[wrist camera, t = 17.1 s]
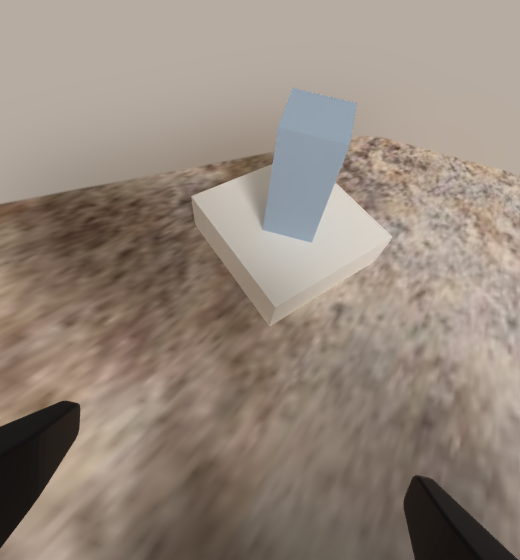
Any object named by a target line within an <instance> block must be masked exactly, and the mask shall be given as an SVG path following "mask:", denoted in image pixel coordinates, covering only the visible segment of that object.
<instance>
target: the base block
mask: <svg viewBox="0 0 520 560" xmlns="http://www.w3.org/2000/svg"><path fill="white" fill-rule="evenodd" d="M272 165H273V164H271V165H268V166H266V167H263V168H261V169H258V170H256V171H253V172H251V173H248V174H246V175H243V176H241V177H238V178H236V179H233V180H231V181H228V182H226V183H223V184H220V185H218V186H215V187H213V188H210V189H208V190H205V191H203V192H200V193H198V194H195V195H193V196H191V199H192V206H193V214H194V221H195V225H196V226H197V228H198V229H199V230H200V232H201V233H202V235H203V236H204V237H205V239H206V240H207V242H208V243H209V244H210V246H211V247H212V248H213V250H214V251H215V253H216V254H217V255H218V257H219V258H220V259H221V261H222V262H223V264H224V265H225V266H226V268H227V269H228V270H229V272H230V273H231V275H232V276H233V277H234V279H235V280H236V282H237V283H238V284H239V286H240V287H241V288H242V290H243V291H244V293H245V294H246V295H247V297H248V298H249V299H250V301H251V302H252V304H253V305H254V306H255V308H256V309H257V310H258V312H259V313H260V315H261V316H262V317H263V319H264V320H265V322H266V323H267V324H268V326H269V327H270V326H271V325H273V324H274V323H276V322H278V321H279V320H281V319H282V318H284V317H286V316H287V315H289V314H291V313H292V312H294V311H295V310H297V309H299V308H300V307H302V306H303V305H305V304H307V303H308V302H310V301H311V300H313V299H315V298H316V297H318V296H319V295H321V294H323V293H324V292H326V291H327V290H329V289H331V288H332V287H334V286H335V285H337V284H339V283H340V282H342V281H344V280H345V279H347V278H348V277H350V276H352V275H353V274H355V273H356V272H358V271H360V270H361V269H363V268H364V267H366V266H368V265H369V264H371V263H372V262H374V261H375V260H376V259H377V258H378V256H379V255H380V253H381V252H382V251H383V249H384V248H385V247H386V245H387V244H388V243H389V241H390V240H391V238H392V236H391V235H390V234H389V233H388V232H387V231H386V230H384V229H383V228H382V227H381V226H380V225H379V224H378V223H377V222H376V221H375V220H374V219H373V218H372V217H371V216H370V215H369V214H368V213H367V212H366V211H365V210H363V209H362V208H361V207H360V206H359V205H358V204H357V203H356V202H355V201H354V200H353V199H352V198H351V197H350V196H349V195H348V194H347V193H346V192H345V191H344V190H343V189H341V188H340V187H339V186H338V185H337V184H336V183H335V184H334V187H333V189H332V192H331V194H330V197H329V199H328V202H327V205H326V207H325V210H324V212H323V215H322V217H321V220H320V223H319V225H318V228H317V230H316V233H315V235H314V238H313V241H312V243H311V242H307V241H303V240H299V239H295V238H292V237H288V236H284V235H280V234H276V233H272V232H268V231H264V230H263V225H264V218H265V211H266V205H267V198H268V192H269V185H270V178H271V172H272Z"/></svg>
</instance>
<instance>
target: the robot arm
mask: <svg viewBox="0 0 520 560" xmlns="http://www.w3.org/2000/svg"><path fill="white" fill-rule="evenodd" d="M79 425H80V405H79V404H78V403H75V402H70V401H61V402H59V403H56V404H54V405H51V406H49V407H47V408H44V409H42V410H39V411H37V412H34V413H32V414H30V415H27V416H25V417H22V418H20V419H18V420H15V421H13V422H10V423H8V424H6V425H3V426H1V427H0V548H1V547H2V545H3V544H4V543H5V541H6V540H7V539H8V538H9V536H10V535H11V534H12V532H13V531H14V530H15V528H16V527H17V526H18V524H19V523H20V522H21V520H22V519H23V518H24V516H25V515H26V514H27V512H28V511H29V510H30V509H31V507H32V506H33V504H34V503H35V502H36V500H37V499H38V498H39V496H40V494H41V493H42V491H43V490H44V488H45V487H46V485H47V484H48V482H49V481H50V479H51V477H52V476H53V474H54V473H55V471H56V469H57V468H58V466H59V465H60V463H61V461H62V460H63V458H64V457H65V455H66V453H67V452H68V450H69V449H70V447H71V446H72V444H73V442H74V441H75V439H76V437H77V435H78V432H79ZM404 512H405V516H406V521H407V525H408V530H409V534H410V539H411V544H412V548H413V553H414V557H415V560H518V559H517V558H516V557H515V556H514V555H513V554H511V553H510V552H509V551H508V550H507V549H506V548H505V547H504V546H503V545H502V544H501V543H500V542H499V541H498V540H497V539H496V538H494V537H493V536H492V535H491V534H490V533H489V532H488V531H487V530H486V529H485V528H484V527H483V526H482V525H481V524H480V523H478V522H477V521H476V520H475V519H474V518H473V517H472V516H471V515H470V514H469V513H468V512H467V511H466V510H465V509H464V508H463V507H461V506H460V505H459V504H458V503H457V502H456V501H455V500H454V499H453V498H452V497H451V496H450V495H449V494H448V493H447V492H445V491H444V490H443V489H442V488H441V487H440V486H439V485H438V484H437V483H436V482H435V481H434V480H433V479H431V478H429V477H424V476H419V475H415V476H414V477H413V478H412V480H411V482H410V485H409V487H408V490H407V493H406V495H405V498H404Z"/></svg>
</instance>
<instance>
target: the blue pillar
mask: <svg viewBox="0 0 520 560" xmlns="http://www.w3.org/2000/svg"><path fill="white" fill-rule="evenodd" d="M356 106H357V103H354V102H350V101H345V100H341V99H337V98H333V97H328V96H324V95H320V94H316V93H311V92H307V91H303V90H299V89H294V88H293V89H292V91H291V94H290V96H289V99H288V102H287V105H286V107H285V110H284V113H283V116H282V118H281V122H280V124H279V127H278V132H277V139H276V145H275V152H274V158H273V165H272V172H271V178H270V185H269V192H268V198H267V205H266V211H265V218H264V225H263V230H264V231H268V232H272V233H276V234H280V235H284V236H288V237H292V238H295V239H299V240H303V241H307V242H311V243H312V241H313V238H314V235H315V233H316V230H317V228H318V225H319V223H320V220H321V217H322V215H323V212H324V210H325V207H326V205H327V202H328V199H329V197H330V194H331V192H332V189H333V187H334V184H335V182H336V179H337V176H338V174H339V171H340V169H341V166H342V164H343V161H344V158H345V156H346V153H347V151H348V148H349V146H350V141H351V135H352V129H353V123H354V116H355V111H356Z"/></svg>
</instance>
